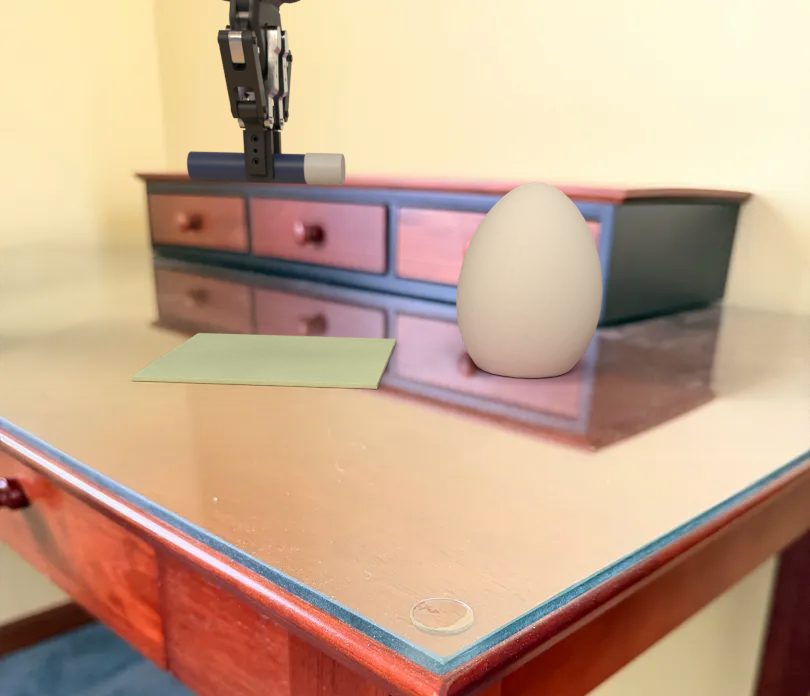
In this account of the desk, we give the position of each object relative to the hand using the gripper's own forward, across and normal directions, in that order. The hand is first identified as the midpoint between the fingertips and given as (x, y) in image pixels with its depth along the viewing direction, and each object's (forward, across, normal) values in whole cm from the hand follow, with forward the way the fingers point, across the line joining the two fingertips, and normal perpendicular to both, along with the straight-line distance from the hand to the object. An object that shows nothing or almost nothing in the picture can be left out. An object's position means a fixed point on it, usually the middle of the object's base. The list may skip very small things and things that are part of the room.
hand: (264, 180), depth 67 cm
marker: (0, 0, 0) cm, 0 cm away
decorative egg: (+15, -1, +22) cm, 27 cm away
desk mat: (+15, -1, 0) cm, 15 cm away
